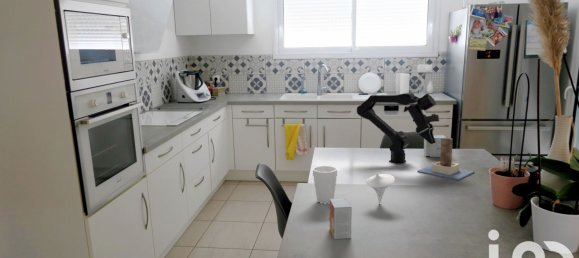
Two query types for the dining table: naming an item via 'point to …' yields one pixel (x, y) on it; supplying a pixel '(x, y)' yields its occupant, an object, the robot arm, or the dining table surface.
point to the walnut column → (446, 152)
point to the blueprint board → (454, 176)
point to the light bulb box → (433, 147)
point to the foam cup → (325, 182)
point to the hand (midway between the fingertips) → (433, 143)
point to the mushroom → (380, 183)
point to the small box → (340, 218)
